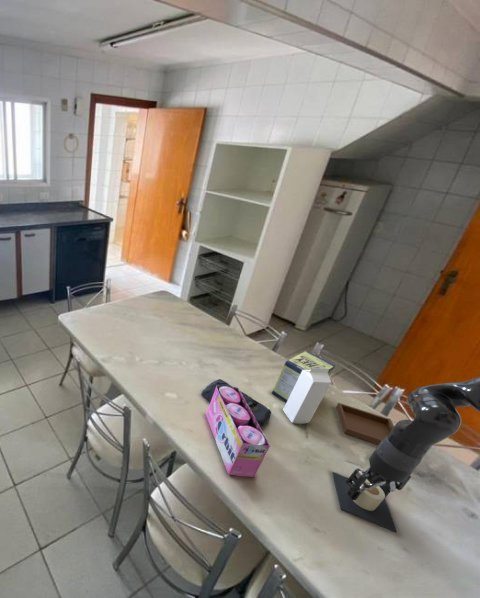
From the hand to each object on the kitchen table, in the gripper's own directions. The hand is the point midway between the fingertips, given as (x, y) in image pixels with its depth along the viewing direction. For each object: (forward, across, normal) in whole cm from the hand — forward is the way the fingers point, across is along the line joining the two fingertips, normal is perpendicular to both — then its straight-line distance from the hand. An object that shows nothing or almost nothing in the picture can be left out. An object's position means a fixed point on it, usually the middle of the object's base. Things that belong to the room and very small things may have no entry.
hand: (365, 496), depth 90 cm
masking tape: (+1, 0, 0) cm, 1 cm away
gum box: (+2, -30, +19) cm, 35 cm away
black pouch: (+2, -19, +35) cm, 40 cm away
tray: (+2, +23, +24) cm, 33 cm away
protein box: (+2, +8, +40) cm, 41 cm away
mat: (+2, 0, 0) cm, 2 cm away
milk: (+2, +1, +30) cm, 30 cm away
